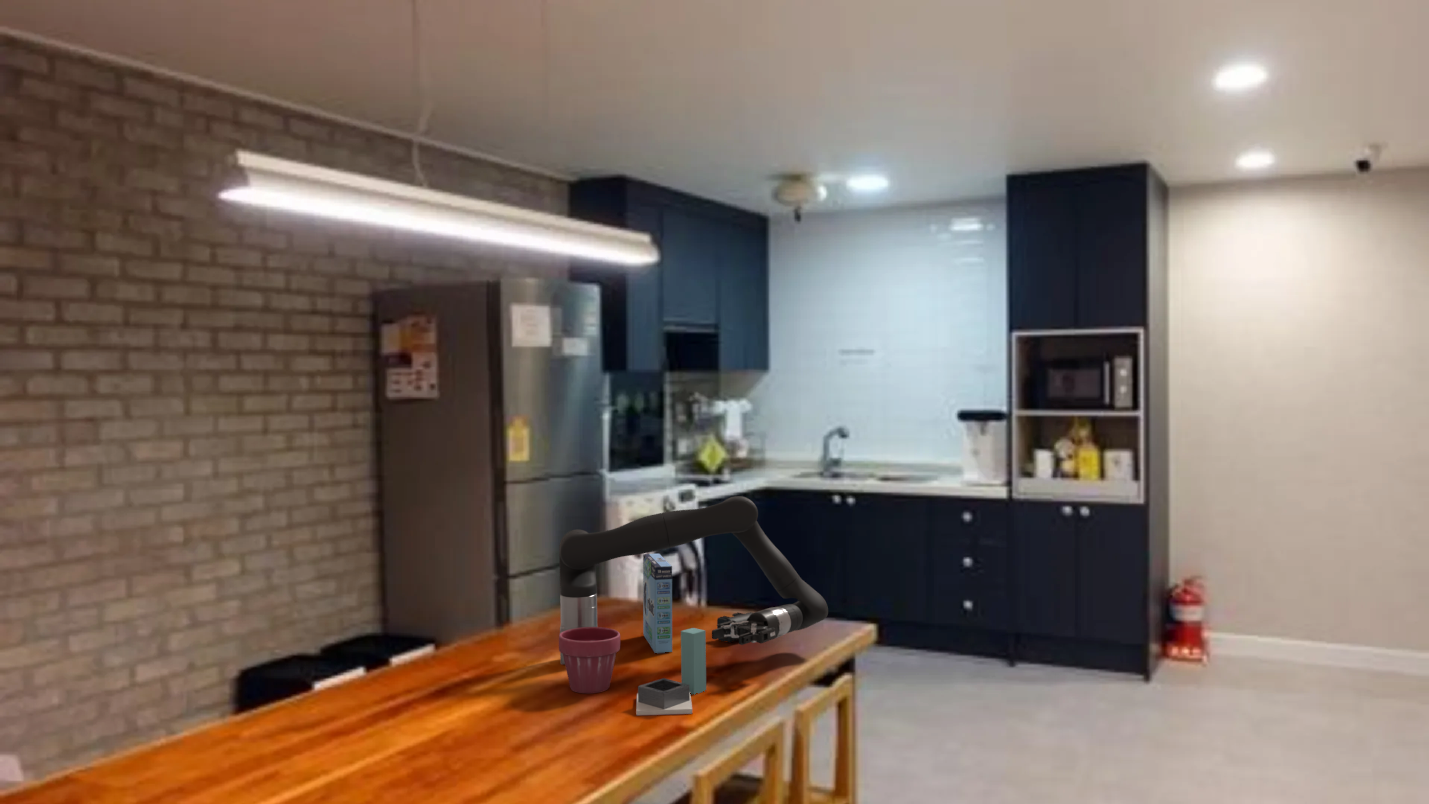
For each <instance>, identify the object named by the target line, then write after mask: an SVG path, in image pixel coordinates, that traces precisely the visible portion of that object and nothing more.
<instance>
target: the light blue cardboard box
mask: <svg viewBox="0 0 1429 804" xmlns="http://www.w3.org/2000/svg"><path fill="white" fill-rule="evenodd" d="M642 557H643V559H642V560H643V562H642V564H643V565H642V566H643V567H642V568H643V569H642V577H643V579H642V581H643V582H642V588H643V589H642V590H643V591H642V592H643V595H642V596H643V597H642V600H643V601H642V602H643V606H642V607H643V611H642V612H643V615H642V616H643V618H642V620H643V623H642V625H643V627H642V628H643V629H642V631H643V636H644V638H645V639H646V641H647V643H648V644H649V646H650V647H651V649H652V651H653V652H654V654H655V653H657V654H666V653H665V652H672V653H673V566H672V564H670V563H669V562H668V561H667V560H666V558H664V557H663V556H662V555H661V553H643V555H642Z"/></svg>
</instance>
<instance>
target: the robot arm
mask: <svg viewBox="0 0 1429 804" xmlns="http://www.w3.org/2000/svg"><path fill="white" fill-rule="evenodd" d="M758 517H759V510H758V507H757V506H756V504H755V503H754V502H753V501H752V500H751V499H749V498H748V497H745V496H740V495H739V496H737V495H736V496H731V497H728V498H727V499H725V500H724V501H722V502H719V503H716V504H713V505H709V506H705V507H701V508H694V509H693V508H691V509H680V510H679V509H678V510H671V511H663V512H659V513H654V514H650V515H647V516H643V517H642V516H641V517H639V518H637V519H634V520H632V521H629V522H626V523H625V524H623V525H620V526H618V527H615V528H612V529H609V530H608V529H607V530H604V531H596V532H588V531H586V530H583V529H573V530H569V531H568V532H566V533H565V534H564V535H563V537H562V538H561V540H560V542H559V550H558V554H559V555H558V558H559V560H558V561H559V589H560V590H559V593H560V598H559V601H560V627H559V634H560V633H561V632H563V631H566V630H569V629H574V628H582V627H598V596H597V595H598V589H597V588H598V586H597V565H598V564H602V563H604V562H605V563H606V562H607V561H611V560H614V559H618V558H624V557H630V556H637V555H641V554H643V555H644V554H649V553H652V552H654V553H655V552H658V551H662V550H663V551H664V550H667V549H671V548H675V547H677V546H682V545H685V544H688V543H691V542H695V541H697V540H699V539H704V538H706V537H710V536H715V535H724V534H733V536H734V537H735V538H737V540H738V541H739V542H740V543H741V544H742V546H744V548H745V549H746V550H747V551H748V552H749V554H750V555H751V556H752V558H753V559H754V561H755V562H756V563H757V565H758V566H759V568H760V570H762V573H763V574H764V576H766V578H767V579H768V581H769V582H770V583H771V585H772V586H773V588H774V589H775V591H776V592H777V593H778V595H779V596H780V597H782V598H783V599H796V600H797V601H795V602H794V603H788V604H783V605H779V606H775V607H773V606H771V607H769V608H765V609H762V610H758V611H755V612H752V614H751V615H750V616H749V617H748V619H747V621H742V622H739V623H736V621H734V620H732V621H728V622H725V623H721V624H717V625H716V627H717V628H715V629H712V631H711V638H712V640H718V639H719V638H722V637H726V636H731V637H732V638H739V640H738V645H741V646H744V645H746V644H750V643H752V644H755V643H758V644H764V643H766V642H769V641H772V640H775V639H777V638H780V637H782V636H784V635H787V634H789V633H792V632H794V631H796V632H797V631H801V630H805V629H807V628H809V627H811V626H813V625H816V624H817V623H819V622H822V621H823V620H825V619H826V618H827V617H828V614H829V608H828V604H827V602H826V601H827V600H825V598H824V597H823V596H822V595H821V594H820V593H819V592H818V591H816V590H815V589H814V588H813V587H812V586H811V585H810V584H808V583H807V582H805V580H803V579H802V577H800V575H799V574H798V573H797V571H796V570H795V567H793V565H792V564H791V563H790V561H789V560H788V559H787V558H786V556H785V555H784V554H783V553H782V552H781V551H780V550H779V549H778V548H777V547H776V546H775V544H774V543H773V542H772V541H771V540H770V539H769V537H768V536H767V534H765V532H764V530H763V529H762V528H761V526H760V524H759V522H758V521H757V520H758ZM736 629H737V634H736V635H735V634H734V631H736ZM559 653H560V660H559V661H560V665H565V662H564V657H563V654H562V653H561V652H560V651H559Z"/></svg>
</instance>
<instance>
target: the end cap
mask: <svg viewBox="0 0 1429 804" xmlns="http://www.w3.org/2000/svg"><path fill="white" fill-rule="evenodd" d="M752 613H753V612H752V611H750V612H747V613H742V612H736V613H733V614H731V615H732V616H727V615H723V616H719V617H717V620H716V623H717V624H721V623H725V622H728V621H732V620H734V621H736V623H739V622H742V621H747V619H748V617H749V616H750V615H751V614H752ZM734 634H735V635H736V634H737V629H736V631H734ZM717 640H718V641H720V640H721V642H724V641H728V642H729V643H732V641H733V642H736V641H739V638H732V637H731V636H726V637H722V638H719V639H717ZM728 642H727V643H728Z"/></svg>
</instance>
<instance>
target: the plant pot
mask: <svg viewBox="0 0 1429 804" xmlns="http://www.w3.org/2000/svg"><path fill="white" fill-rule="evenodd" d="M620 650H621V634H620V632H619V631H618V630H617V629H614V628H608V627H603V626H597V627H582V628H574V629H569V630H566V631H563V632H561V633H560V632H559V635H558V651H559V653H560V652H561V653H562V654H563V657H564V662H565V664H564V665H565V671H566V675H567V678H568V684H569V688H570V690H571V691H573V692H575V693H579V694H596V693H597V694H598V693H602V692H604V691H607V690H608V689H610V685H611V681H612V676H613V673H614V672H613V671H614V665H615V661H616V657H617V656H616V655H617V652H619V651H620Z"/></svg>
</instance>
